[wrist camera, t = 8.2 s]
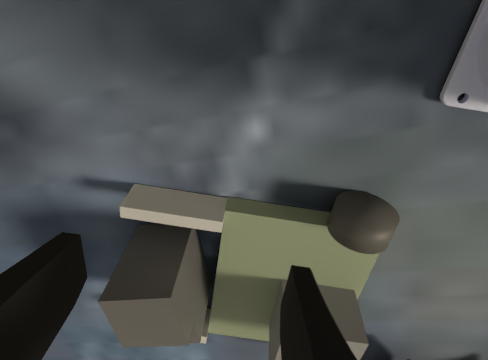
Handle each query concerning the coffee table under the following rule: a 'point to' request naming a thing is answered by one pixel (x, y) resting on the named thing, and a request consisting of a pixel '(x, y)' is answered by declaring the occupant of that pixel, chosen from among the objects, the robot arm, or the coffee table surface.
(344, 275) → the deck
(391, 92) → the coffee table surface
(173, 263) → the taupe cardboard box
